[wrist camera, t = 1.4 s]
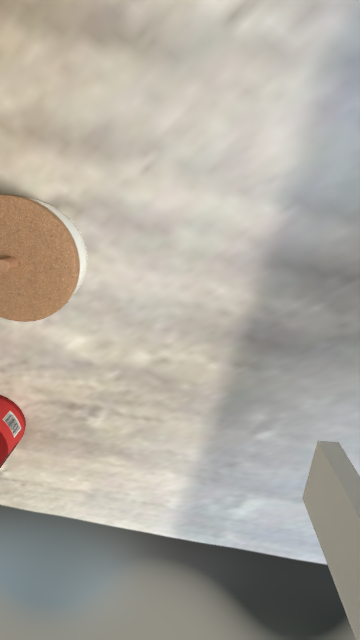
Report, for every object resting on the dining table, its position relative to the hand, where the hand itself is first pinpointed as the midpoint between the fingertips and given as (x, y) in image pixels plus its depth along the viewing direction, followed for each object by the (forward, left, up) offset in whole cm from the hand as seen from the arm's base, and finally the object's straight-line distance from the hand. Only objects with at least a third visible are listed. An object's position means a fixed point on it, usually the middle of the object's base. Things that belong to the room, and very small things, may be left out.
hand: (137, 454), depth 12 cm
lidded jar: (-8, -11, -25) cm, 29 cm away
